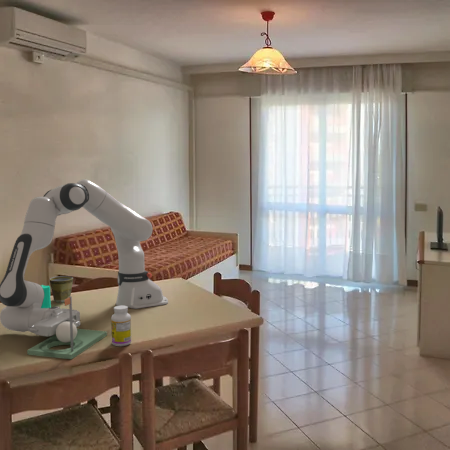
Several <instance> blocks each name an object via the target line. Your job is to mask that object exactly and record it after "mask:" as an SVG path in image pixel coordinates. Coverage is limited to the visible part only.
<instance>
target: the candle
mask: <svg viewBox="0 0 450 450" xmlns="http://www.w3.org/2000/svg"><path fill="white" fill-rule="evenodd" d="M40 285H41V286H42V288H43V290H44V300H43V303H42V306H41V308H51V307H52V304H51V303H52V302H51V301H52V300H51V299H52V298H51V286H50V285H44V283H42V284H40Z"/></svg>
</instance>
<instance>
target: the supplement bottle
mask: <svg viewBox="0 0 450 450" xmlns="http://www.w3.org/2000/svg"><path fill="white" fill-rule="evenodd" d="M128 309H129V307H127V306H123V305H121V306H118V305H116V306H114V307H113V312H114V314H112V315H111V318H110V322H111V323H110V324H111V344H112V345H113V346H116V347H124V346H128V345H130V344H132V316H131V314H130V313H128V311H129V310H128Z"/></svg>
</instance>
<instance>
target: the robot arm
mask: <svg viewBox="0 0 450 450" xmlns="http://www.w3.org/2000/svg"><path fill="white" fill-rule="evenodd" d="M82 208H83V209H84V210H86V211H87V212H88V213H89V214H91V215H92V216H94V217H95V218H96V219H98V221H100V222H102V224H105V225H106V226H108V227H110V230H111V232H112V235H113V237H114V241H115V245H116V250H117V255H118V271H117V285H118V290H117V291H118V292H117V298H116V302H115V305H116V306H121V305H123V306H127V307H128V308H131V309H135V310H136V309H143V308H149V307H150V308H151V307H157V306H162V305H168V304H169V300H168V298H167V297H166V296H164V295H163V290H162V287H160V286H159V284H157V283H156V282H154V281H153V280H152V279H151V278H152V277H153V274H152V273H151V272H149V271H148V270H147V271H146V270H145V267H146V265H145V264H146V263H145V252H144V250H143V248H142V246H141V242H144V241H147V240H148V239H149V238H151V236H152V234H153V225H152V222H151V221H150V220H149V219H147V218H145V217H144V216H143V215H141V214H139V213H138V212H137V211H135V210H134V209H132V208H130V207H128V206H127V205H125V204H124V203H123V202H121V201H119V200H118V199H116V198H115V197H114V196H113V195H112V194H110V193H109V192H107V190H105V189H104V188H102V187H101V186H100V185H98V184H96V183H95V182H93V181H91V180H89V179H86V178H85V179H80V180H78V181H77V182H76V183H74V182H69V183H65V184H62V185H58V186H56V187H54V188H51V189H50V190H48V191H46V193H45V194H43V196H37V197H34V198H32V199H31V201H30V202H29V205H28V207H27V210H26V214H25V218H24V221H23V227H22V230H21V233H20V234H19V236H18V237H17V239H16V240H15V242H14V245H13V249H12V251H11V255H10V257H9V261H8V264H7V267H6V271H5V274H4V276H3V278H2V280H1V282H0V303H1V304H2V305H4V306H5V307H3V308H2V309H1V311H0V323H1V325H2V326H3V327H4V328H5V329H7V330H8V331H9V330H11V331H14V332H20V333H26V332H30V333H31V334H32V333H33V334H34V335H36V336H41V337H52V336H53V335H55V334H56V329H57V327H58V325H59V324H61V323H62V322H66V321H68V322H70V310H69V308H61V307H60V306H51V308H41V306H42V303H43V300H44V290H43V288H42V286H41V285H42V284H39V283H36V282H33V281H28V280H25V275H26V274H25V273H26V270H27V266H28V264H29V260H30V257H31V255H32V254H33V253H34V252H36V251H39V250H41V249H44V248H47V247H48V246H49V245H50V244H51V243H52V240H53V238H54V234H55V227H56V221H57V217H58V216H61V215H67V214H70V213H72V212H74V211H78V210H80V209H82ZM80 320H81V312H80V311H79V310H77V309H72V321H73V324H74V325H75V326H76V328H78V327H80V326H81V321H80Z"/></svg>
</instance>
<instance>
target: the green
mask: <svg viewBox="0 0 450 450" xmlns="http://www.w3.org/2000/svg"><path fill="white" fill-rule="evenodd" d="M64 306H65V307H66V306H69V308H68V309H69V310H70V338H71V342H67V343H65V342H61V341H60V340H59V339H58V338H57V336H56V334H54V335H52V336H49V337H48V338H46V339H44V340H43V341H41V342H39V343H37V344H36V345H34V346H32V347H31V348H29V349H27V355H28V356H38V357H45V358H47V357H48V358H56V359H57V358H58V359H67V360H73V359H74V358H76V357H77V356H79V355H80V354H82V353H83V352H84V351H86V350H88V349H90V348H91V347H92V346H94V345H95V344H97V343H98V342H99V341H101V340H102V339H104V338H105V337H107V336H108V331H106V330H96V329H95V330H94V329H84V328H83V329H82V328H77V335H76V337H75V339H74V340H73V321H72V310H73V296H69V298H67V299H65V302H64ZM96 342H97V343H96ZM56 346H70V347H69V348H65V349H64V348H63V349H51V348H53V347H56Z"/></svg>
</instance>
